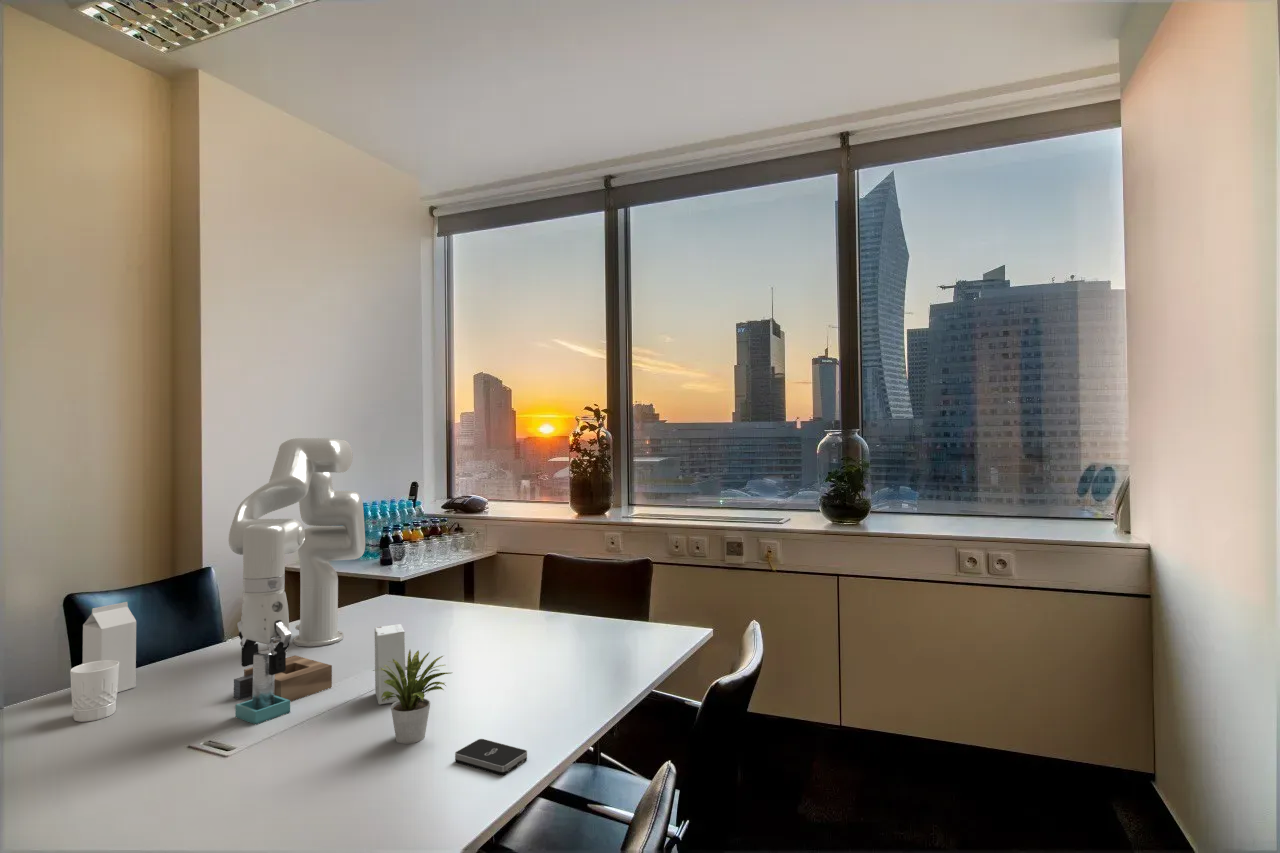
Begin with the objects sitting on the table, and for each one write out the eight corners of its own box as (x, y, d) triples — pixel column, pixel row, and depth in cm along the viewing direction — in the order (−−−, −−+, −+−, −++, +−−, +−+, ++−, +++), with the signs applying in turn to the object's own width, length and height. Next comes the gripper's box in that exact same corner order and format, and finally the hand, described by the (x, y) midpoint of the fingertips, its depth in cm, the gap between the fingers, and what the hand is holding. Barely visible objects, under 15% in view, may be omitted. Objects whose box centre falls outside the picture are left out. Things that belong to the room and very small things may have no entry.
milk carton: (135, 687, 158) (136, 603, 159) (100, 698, 152) (101, 610, 152) (117, 683, 161) (118, 600, 162) (81, 693, 155) (82, 607, 155)
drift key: (233, 697, 152) (233, 679, 152) (269, 686, 159) (269, 668, 159) (239, 699, 151) (239, 681, 151) (275, 688, 158) (275, 670, 158)
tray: (235, 717, 142) (235, 704, 142) (269, 705, 148) (270, 693, 148) (255, 724, 138) (255, 711, 138) (290, 712, 144) (290, 700, 144)
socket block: (243, 692, 155) (244, 669, 155) (294, 676, 166) (295, 655, 166) (280, 704, 148) (280, 681, 148) (331, 687, 158) (331, 665, 158)
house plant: (400, 765, 121) (401, 669, 121) (350, 746, 128) (350, 656, 128) (462, 735, 133) (462, 648, 133) (413, 719, 140) (413, 637, 140)
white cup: (128, 710, 145) (128, 662, 145) (87, 725, 138) (87, 674, 138) (101, 706, 148) (102, 658, 148) (60, 720, 140) (60, 670, 140)
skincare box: (406, 701, 150) (406, 631, 150) (376, 706, 147) (376, 635, 148) (402, 688, 158) (402, 622, 158) (373, 692, 155) (374, 625, 155)
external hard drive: (503, 779, 117) (503, 767, 117) (452, 764, 122) (452, 752, 122) (528, 762, 123) (528, 750, 123) (479, 749, 128) (479, 738, 128)
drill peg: (247, 713, 142) (249, 654, 142) (267, 707, 146) (268, 649, 146) (258, 717, 140) (260, 657, 140) (278, 711, 144) (279, 652, 144)
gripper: (306, 586, 142) (306, 671, 142) (258, 577, 151) (257, 657, 151) (270, 593, 135) (269, 682, 135) (222, 583, 144) (221, 666, 144)
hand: (263, 668), depth 143 cm, fingers open, 9 cm apart
